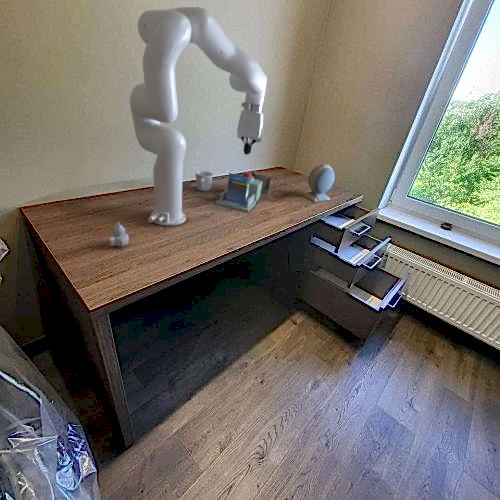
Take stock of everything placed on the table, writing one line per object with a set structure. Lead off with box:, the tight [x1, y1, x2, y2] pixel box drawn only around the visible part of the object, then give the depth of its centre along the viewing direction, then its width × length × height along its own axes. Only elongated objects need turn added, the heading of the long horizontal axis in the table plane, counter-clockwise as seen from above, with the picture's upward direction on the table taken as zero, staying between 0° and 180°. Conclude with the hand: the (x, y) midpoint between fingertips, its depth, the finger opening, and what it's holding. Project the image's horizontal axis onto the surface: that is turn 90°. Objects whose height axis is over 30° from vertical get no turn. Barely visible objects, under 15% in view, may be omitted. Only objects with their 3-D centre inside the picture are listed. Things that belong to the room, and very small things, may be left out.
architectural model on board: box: [251, 169, 275, 195], centre depth 142 cm, size 11×3×10 cm, turn 56°
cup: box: [195, 170, 214, 192], centre depth 131 cm, size 11×8×8 cm
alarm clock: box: [301, 163, 336, 203], centre depth 144 cm, size 14×10×18 cm
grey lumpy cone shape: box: [106, 221, 130, 248], centre depth 81 cm, size 5×7×8 cm
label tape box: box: [226, 172, 249, 204], centre depth 121 cm, size 9×4×12 cm, turn 72°
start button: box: [242, 171, 252, 178], centre depth 129 cm, size 4×4×2 cm
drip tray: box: [215, 189, 257, 213], centre depth 124 cm, size 12×15×4 cm
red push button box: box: [235, 173, 263, 202], centre depth 132 cm, size 8×14×10 cm, turn 72°
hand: (246, 153), depth 123 cm, fingers closed
